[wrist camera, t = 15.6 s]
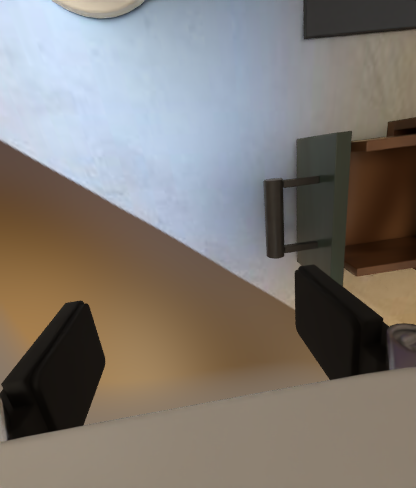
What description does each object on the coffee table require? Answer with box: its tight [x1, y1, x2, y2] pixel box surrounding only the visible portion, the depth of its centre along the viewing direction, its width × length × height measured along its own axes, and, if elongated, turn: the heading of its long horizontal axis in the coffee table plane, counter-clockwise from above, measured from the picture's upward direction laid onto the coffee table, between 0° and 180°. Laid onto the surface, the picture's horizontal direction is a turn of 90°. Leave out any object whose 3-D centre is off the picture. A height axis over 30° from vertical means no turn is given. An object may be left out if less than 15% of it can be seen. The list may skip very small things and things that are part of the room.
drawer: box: [263, 131, 416, 286], centre depth 25 cm, size 19×13×7 cm
